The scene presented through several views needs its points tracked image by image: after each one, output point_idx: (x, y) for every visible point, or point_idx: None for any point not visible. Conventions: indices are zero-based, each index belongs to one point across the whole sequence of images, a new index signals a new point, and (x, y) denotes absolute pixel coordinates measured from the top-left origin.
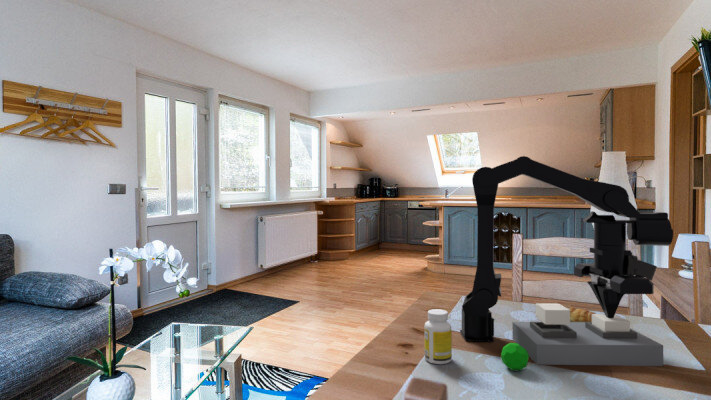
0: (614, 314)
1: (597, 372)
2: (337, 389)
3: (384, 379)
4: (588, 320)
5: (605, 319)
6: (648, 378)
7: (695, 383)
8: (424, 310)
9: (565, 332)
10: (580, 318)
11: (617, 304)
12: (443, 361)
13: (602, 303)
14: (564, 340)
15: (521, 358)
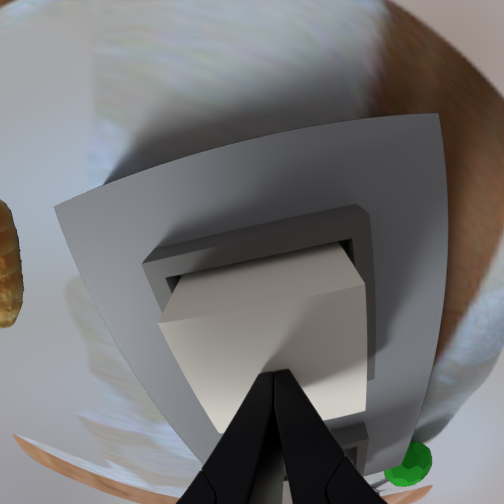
0: (300, 386)
1: (441, 339)
2: (417, 500)
3: (406, 495)
4: (5, 274)
5: (330, 406)
6: (480, 224)
7: (491, 103)
8: (128, 496)
9: (366, 454)
10: (5, 297)
11: (344, 458)
12: (378, 492)
13: (282, 494)
14: (382, 439)
15: (431, 458)
